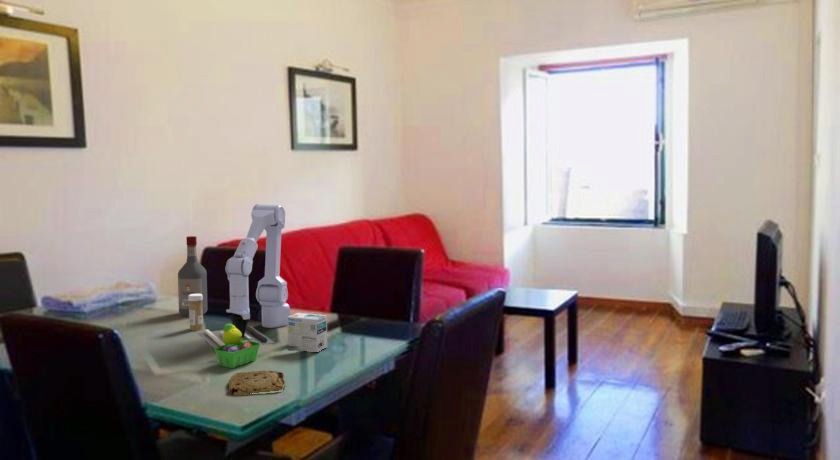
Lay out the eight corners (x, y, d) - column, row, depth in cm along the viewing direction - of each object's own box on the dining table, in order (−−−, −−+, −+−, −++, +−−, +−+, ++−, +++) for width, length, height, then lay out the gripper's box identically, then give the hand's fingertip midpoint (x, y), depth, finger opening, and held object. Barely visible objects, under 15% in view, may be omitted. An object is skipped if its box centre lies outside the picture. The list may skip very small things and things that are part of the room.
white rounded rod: (208, 332, 208) (208, 328, 208) (226, 347, 191) (226, 343, 190) (204, 333, 207) (204, 329, 207) (221, 348, 190) (221, 344, 190)
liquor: (200, 316, 237) (198, 238, 234) (176, 316, 237) (174, 237, 234) (209, 311, 246) (207, 235, 243) (186, 310, 246) (184, 235, 243)
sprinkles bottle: (205, 333, 212) (204, 294, 211) (191, 335, 210) (190, 296, 208) (201, 330, 216) (200, 292, 215) (187, 332, 214) (186, 294, 212)
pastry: (208, 390, 160) (208, 378, 160) (259, 372, 175) (258, 361, 174) (256, 404, 151) (256, 392, 151) (305, 383, 165) (305, 372, 165)
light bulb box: (327, 348, 197) (327, 314, 196) (317, 353, 191) (317, 319, 190) (298, 344, 201) (297, 311, 200) (287, 350, 194) (286, 316, 193)
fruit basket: (231, 370, 174) (230, 331, 173) (210, 365, 179) (209, 326, 178) (261, 360, 184) (261, 322, 183) (241, 355, 189) (240, 318, 188)
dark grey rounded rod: (247, 327, 215) (247, 323, 215) (267, 341, 198) (267, 337, 198) (243, 328, 214) (242, 324, 214) (263, 342, 197) (263, 338, 197)
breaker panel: (251, 330, 217) (250, 323, 217) (275, 347, 197) (275, 339, 197) (197, 337, 207) (197, 330, 207) (217, 356, 187) (217, 347, 187)
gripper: (220, 292, 200) (220, 333, 202) (233, 300, 188) (234, 344, 190) (241, 290, 204) (242, 330, 206) (256, 298, 192) (257, 341, 194)
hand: (240, 337), depth 198 cm, fingers closed
